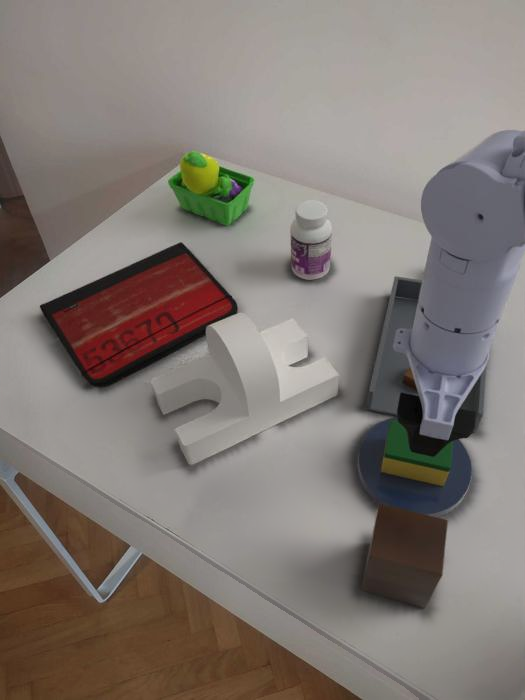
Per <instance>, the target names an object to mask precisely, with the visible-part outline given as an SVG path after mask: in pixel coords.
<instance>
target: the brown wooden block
mask: <svg viewBox="0 0 525 700" xmlns="http://www.w3.org/2000/svg"><path fill="white" fill-rule="evenodd" d="M376 510H377V511H376V515H375V519H374V523H373V527H372V533H371V537H370V542H369V546H368V553H367V558H366V563H365V569H364V573H363V580H362V585H361V591H362V592H367V593H370V594H373V595H376V596H381V597H384V598H388V599H391V600H395V601H398V602H402V603H405V604H409V605H412V606H416V607H419V608H423V609H426V607H427V606H428V604H429V602H430V600H431V598H432V596H433V595H434V592H435V591H436V588H437V586H438V584H439V583H440V580H441V579H442V577H443V575H444V566H445V565H444V563H445V553H446V546H447V545H446V544H447V535H448V534H447V533H448V525H449V524H448V523H449V520H448V519H444V518H440V517H433V516H429V515H425V514H421V513H417V512H413V511H409V510H405V509H401V508H396V507H392V506H388V505H384V504H380V503H379V504H378V506H377V509H376Z"/></svg>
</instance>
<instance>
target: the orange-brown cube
mask: <svg viewBox="0 0 525 700" xmlns="http://www.w3.org/2000/svg"><path fill="white" fill-rule="evenodd" d="M402 383H404V384H406V385H407V386H409V387H411V388H413V389H415V390H417V387H416V384H415V381H414V377H413V374H412V370H411V367H410V368H409V369H408V370H407V372H406V373H405V374H404V377H403V382H402Z"/></svg>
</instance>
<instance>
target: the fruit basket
mask: <svg viewBox="0 0 525 700" xmlns="http://www.w3.org/2000/svg"><path fill="white" fill-rule="evenodd" d="M179 169H180V170H179V171H178V172H176V173H175V174H174V175H172V176H171V177H170V178H169V179H167V184H168V186H169V187H170V189H171V190H172V191H173V193H174V195H175V197H176V199H177V202H178V203H179V205H180V207H181V209H182V210H184V211H188V212H190V213H191V212H192V213H194V214H195V215H198V216H201V217H205V218H206V219H208V220H211V221H213V222H218V224H219V223H220V224H221V225H224V226H226V227H229V226H231V224H232V222H235V220H237V219H238V218H239V217H240V216H241V215H242V214H243V212H245V211H246V210H248V207H249V202H250V198H251V193H252V189H253V186H254V184H255V178H254V177H253V176H250V175H247V174H244V173H242V172H238V171H235V170H232V169H230V168H227V167H224V166H221V165H219V162H217V160H216V159H215V158H213V157H212V156H209V155H208V154H207V155H206V154H204V153H201V152H199V151H197V150H190V151H189V152H187V153H185V154H184V155H183V156H182V158H181V159H180V162H179Z"/></svg>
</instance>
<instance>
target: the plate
mask: <svg viewBox="0 0 525 700" xmlns="http://www.w3.org/2000/svg"><path fill="white" fill-rule="evenodd" d="M391 420H396V421H398V418H397V416H393V417H389V418H387V419H384V420H382V421H380V422H379V423H376V424H375V425H374V426H373V427H371V429H370V430H368V432H367V433H366V434H365V435H364V436H363V438H362V441H361V442H360V446H359V449H358V454H357V472H358V476H359V480H360V482H361V484H362V486H363V488H364V489H365V491H366V493H367V494H368V495H369V496H370V497H371V499H372V500H373V501H375V502H376V503H377V504H378V505H379V503H380V504H384V505H388V506H392V507H396V508H401V509H405V510H409V511H413V512H417V513H421V514H425V515H429V516H433V517H437V518H440V517H442V516H444V515H446V514H448V513H450V512H451V511H453V510H455V509H456V508H457V507H458V506H459V505H460V504H461V503H462V501H463V500H464V498H465V497H466V495H467V492H468V490H469V488H470V485H471V482H472V476H473V467H472V460H471V458H470V455H469V453H468V451H467V449H466V447H465V445H464V444H463V442H462V441H461V439H458V440H454V441H453V449H452V459H451V468H450V471H449V474H448V476H447V479H446V481H445V484H444V486H440V485H435V484H431V483H427V482H422V481H418V480H414V479H409V478H405V477H401V476H397V475H392V474H388V473H384V472H381V468H382V463H383V457H384V452H385V447H386V441H387V436H388V431H389V426H390V422H391Z"/></svg>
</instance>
